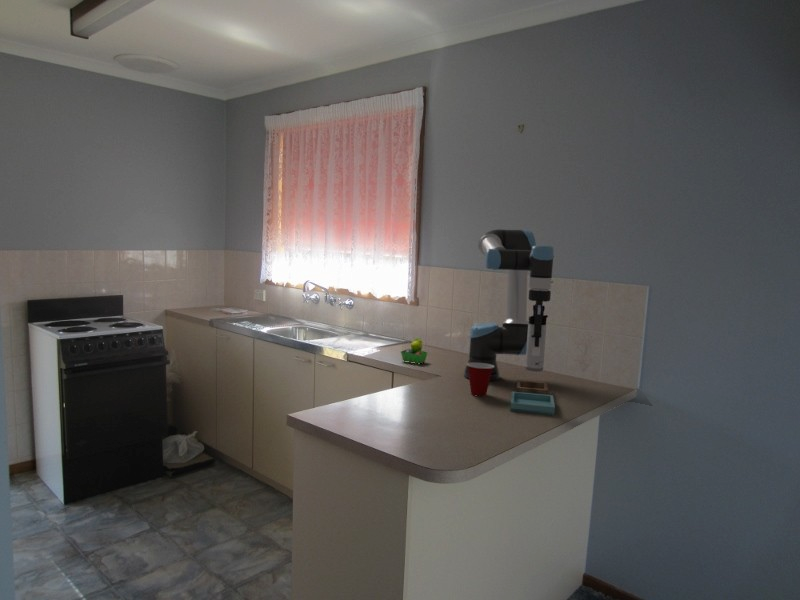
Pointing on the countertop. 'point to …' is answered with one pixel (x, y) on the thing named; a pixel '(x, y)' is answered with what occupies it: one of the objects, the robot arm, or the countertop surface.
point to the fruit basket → (415, 352)
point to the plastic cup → (479, 377)
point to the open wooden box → (532, 387)
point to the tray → (532, 403)
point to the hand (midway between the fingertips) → (535, 353)
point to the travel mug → (532, 361)
